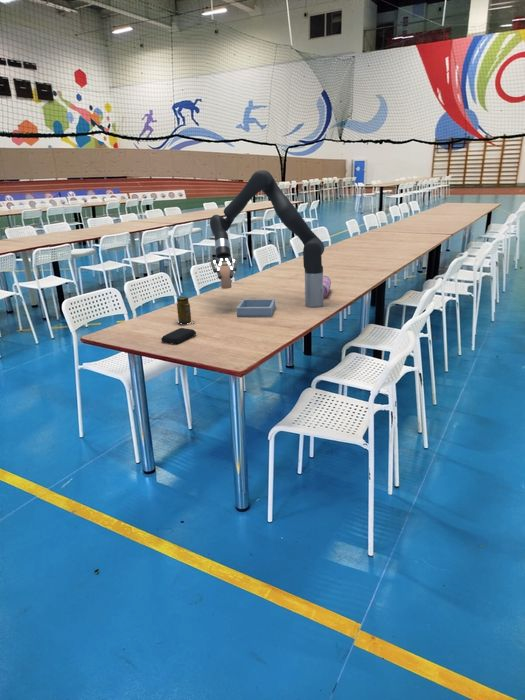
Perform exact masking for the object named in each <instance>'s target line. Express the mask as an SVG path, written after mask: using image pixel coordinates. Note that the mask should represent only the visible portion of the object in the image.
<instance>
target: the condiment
mask: <svg viewBox="0 0 525 700" xmlns="http://www.w3.org/2000/svg"><path fill="white" fill-rule="evenodd" d="M176 301H177V302H176V309H177V320H175V323H177V324H178V325H180V326H185V325H184V324H187V323H190V322H191V320H192V314H191V313H192V312H191V305H190V301H189V297H187V296H180V297H177V299H176ZM178 321H179V323H178ZM180 323H182V324H183V325H182V324H180ZM193 323H194V324H196V322H195V321H193V320H192V324H191V323H190V324H189V325H193ZM186 326H188V324H187V325H186Z"/></svg>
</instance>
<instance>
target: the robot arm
mask: <svg viewBox="0 0 525 700" xmlns="http://www.w3.org/2000/svg"><path fill="white" fill-rule="evenodd" d="M260 192H263V193H264V195H266V197H267V198H268V199H269V200H270V202H271V205H272V207H273V210H274V212H275V214H276V215H277V217H278V218H279V220H280V221H281V223H282V224H283V225H284V227H286V228H287V229H288V230H289V231H291V232H292V233H293V234H294V235H295V236H296V237H297V238H298V239H299V240H300V241H301V243H302V244H303V249H302V259H303V261H302V262H303V268H304V306H305V307H309V308H318V307H323V306H324V298H323V276H324V267H323V264H322V262H323V261H322V255H323V254H324V252H325V244H324V242H323V241H322V240H321V239H320V238H319V237H318V236H317V235H316V233H315V232H313V231H312V229H311V228H310V226H309V225H308V224H307V222H306V220H305V219H304V218H303V216H302V215H301V214H300V212H299V211H298V209H297V208H296V207H295V206H294V204H293V203H292V202H291V201H290V199H289V198H288V197H287V196H286V194H285V193H283V191H282V189H281V188H280V187H279V184H277V182H276V180H275V178H274V177H273V175H272V174H271V173H270V171H268V170H263V169H262V170H256V171H255V172H254V173H253V174H252V175H251V176H250V178H249V180H248V181H247V183H246V184H245V185H244V187H243V188H242V189H241V190H240V192H239V193H238V194H237V195H236V196H235V197H234V198H233V200H231V201H230V202H229V203H228V204H227V206H226V207H225V208H224V209H223V214H224V215H225V218H224V217H222V216H221V215H220V214H213V215H212V216H211V217H210V221H209V225H210V230H211V232H212V234H213V236H214V250H215V259H214V260H210V267H211V268H212V271H213V273H215V274H217V275H216V276H217V278H218V279H219V280H221V276H220V267H219V266H220V265H222V262H227V264H228V265H230V272H231V280H232V279H233V278H234V272H237V269H238V268H237V267H238V261H239V260H238V258H235V259H234V258H232V254H231V245H230V242H229V233H228V231H229V230H230V229H231V226H232V224H233V222H234V221H235V219H236V218H237V217H238V215H240V214H241V213H242V212H243V210H244V209H245V208H246V206H247V205H248V203H249V202H250V201H251V199H253V197H255V196H256V195H257V194H259V193H260ZM232 263H233V266H232ZM215 265H217V268H216V266H215Z"/></svg>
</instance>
